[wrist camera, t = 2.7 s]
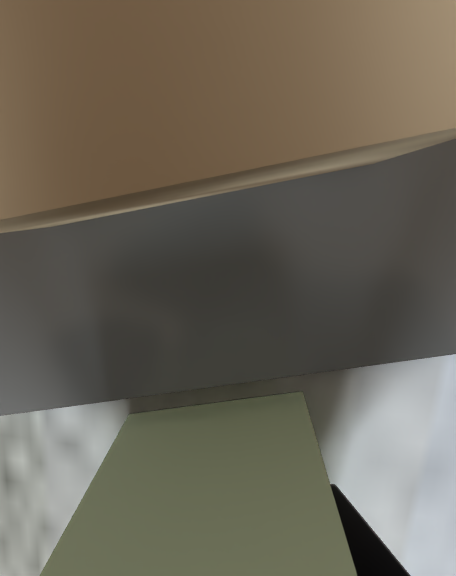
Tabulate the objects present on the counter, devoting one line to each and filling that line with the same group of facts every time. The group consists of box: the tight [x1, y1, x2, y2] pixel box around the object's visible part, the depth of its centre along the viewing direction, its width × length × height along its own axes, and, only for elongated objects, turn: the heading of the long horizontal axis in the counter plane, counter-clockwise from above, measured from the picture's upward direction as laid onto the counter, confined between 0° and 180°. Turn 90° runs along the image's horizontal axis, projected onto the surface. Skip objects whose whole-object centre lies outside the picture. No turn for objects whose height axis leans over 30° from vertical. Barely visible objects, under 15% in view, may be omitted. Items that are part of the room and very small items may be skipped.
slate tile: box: [0, 139, 456, 416], centre depth 6 cm, size 16×16×1 cm
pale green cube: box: [40, 391, 357, 576], centre depth 7 cm, size 5×5×5 cm
